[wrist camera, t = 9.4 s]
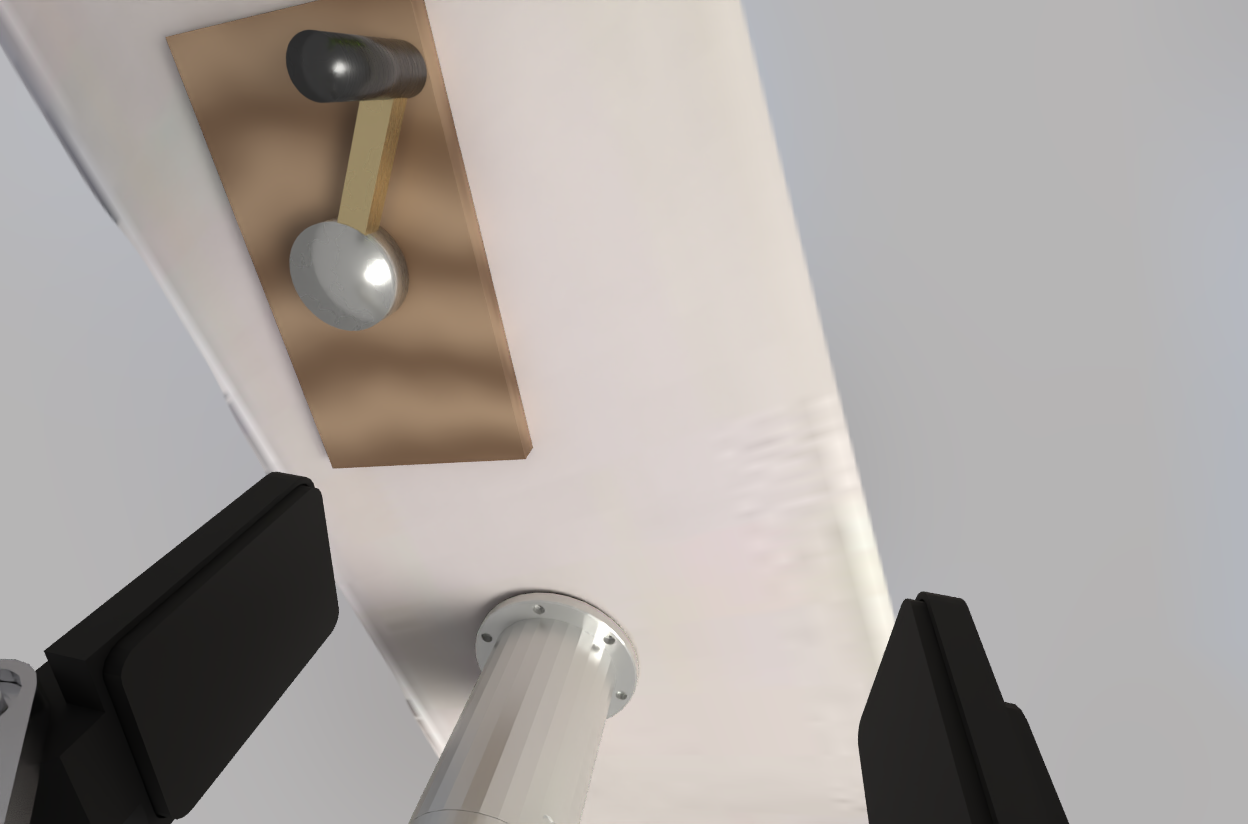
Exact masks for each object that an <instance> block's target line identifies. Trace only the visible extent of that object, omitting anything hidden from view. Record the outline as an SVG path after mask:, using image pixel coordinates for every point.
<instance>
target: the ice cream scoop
mask: <svg viewBox="0 0 1248 824" xmlns="http://www.w3.org/2000/svg"><path fill="white" fill-rule="evenodd" d="M286 66H287V71H288V74H289V77H290V79H291V81H292V83H293V84H294V86H295V87H296V88H297V90H298V91H299V92H300V93H301V94H302V95H303V96H305V97H306V98H308V99H310V100H312V101H314V102H318V103H330V102H350V101H360V103H359V108H358V113H357V119H356V124H355V129H354V135H353V140H352V146H351V151H350V156H349V162H348V167H347V172H346V178H345V183H344V188H343V194H342V199H341V204H340V210H339V215H338V217H336V218H333V219H330V220H327V221H324V222H321V223H318V224H315V225H312V226H310V227H308V228H306V229H305V230H304V231H303V232H301V233H300V235H299V236H298V237H297V238H296V240H295V242H294V244H293V246H292V249H291V253H290V261H289V265H290V274H291V278H292V282H293V285H294V287H295V290H296V292H297V293H298V295H299V297H300V299H301V300H302V302H303V303H304V304H305V306H306V307H307V308H308V309H309V310H310V311H311V312H312V313H313V314H314V315H315V316H316V317H318V318H319V319H320V320H322V321H323V322H325V323H327V324H329V325H331V326H333V327H335V328H338V329H342V330H348V331H359V330H364V329H367V328H370V327H372V326H374V325H375V324H377V323H379V322H380V321H382V320H383V319H385V318H387V317H388V316H390V315H391V314H393V313H394V312H396V311H397V310H398V309H399V308H400V306H401V305H402V304H403V302H404V300H405V298H406V295H407V292H408V287H409V272H408V267H407V263H406V260H405V257H404V255H403V253H402V251H401V249H400V247H399V246H398V244H397V243H396V242H395V240H394V239H393V238H392V237H391V236H390V234H389V233H388V232H386V231H385V230H384V229H383V228H382V227H380V226H379V225H380V221H381V216H382V212H383V207H384V203H385V198H386V194H387V189H388V184H389V180H390V175H391V171H392V166H393V162H394V157H395V152H396V148H397V143H398V139H399V134H400V130H401V125H402V121H403V116H404V111H405V107H406V102H407V99H409V98H413V97H415V96H417V95H418V94H419V93H420V92H421V91H422V89H423V88H424V86H425V83H426V78H427V69H426V64H425V61H424V58H423V56H422V55H421V53H420V52H419V50H418V49H417V48H416V47H415V46H414V45H412V44H411V43H409V42H407V41H404V40H398V39H389V38H380V37H371V36H363V35H354V34H345V33H336V32H327V31H318V30H304V31H301V32H299V33H297V34H296V35H295V36H294V37H293V38H292V39H291V41H290V42H289V44H288V47H287V51H286Z"/></svg>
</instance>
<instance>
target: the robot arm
mask: <svg viewBox="0 0 1248 824" xmlns="http://www.w3.org/2000/svg"><path fill="white" fill-rule="evenodd" d="M338 615H339V607H338V600H337V593H336V587H335V580H334V573H333V566H332V560H331V553H330V546H329V539H328V533H327V526H326V519H325V512H324V506H323V499H322V494H321V492H320V490H319V489H317V488H315V487H314V484H313V482H312V481H311V479H309V478H307V477H302V476H297V475H292V474H286V473H281V472H271V473H270V474H268V475H266V476H265V477H264V478H263V479H261V480H260V481H259V482H257V483H256V484H255V485H254V486H252V487H251V488H250V489H249V490H247V491H246V492H245V493H243V494H242V495H241V496H240V497H239V498H237V499H236V500H235V501H233V502H232V503H231V504H229V505H228V506H227V507H226V508H224V509H223V510H222V511H221V512H220V513H218V514H217V515H216V516H214V517H213V518H212V519H210V520H209V521H208V522H207V523H205V524H204V525H203V526H202V527H200V528H199V529H198V530H197V531H195V532H194V533H193V534H191V535H190V536H189V537H188V538H187V539H185V540H184V541H183V542H181V543H180V544H179V545H177V546H176V547H175V548H174V549H172V550H171V551H170V552H169V553H167V554H166V555H165V556H164V557H162V558H161V559H160V560H158V561H157V562H156V563H155V564H153V565H152V566H151V567H150V568H148V569H147V570H146V571H145V572H143V573H142V574H141V575H140V576H138V577H137V578H136V579H134V580H133V581H132V582H131V583H129V584H128V585H127V586H126V587H124V588H123V589H122V590H120V591H119V592H118V593H117V594H115V595H114V596H113V597H112V598H110V599H109V600H108V601H107V602H105V603H104V604H103V605H101V606H100V607H99V608H98V609H96V610H95V611H94V612H93V613H91V614H90V615H89V616H88V617H86V618H85V619H84V620H83V621H81V622H80V623H79V624H78V625H76V626H75V627H74V628H72V629H71V630H70V631H68V632H67V633H66V634H65V635H63V636H62V637H61V638H60V639H58V640H57V641H56V642H55V643H53V644H52V645H51V646H50V647H48V648H47V649H46V650H45V651H44V652H45V655H46V657H47V659H48V661H47V662H46V663H45V664H43V665H42V666H41V667H40V668H38V669H37V670H36V671H34V669H33V668H32V667H31V666H30V665H29V664H27V663H24V662H21V661H19V660H16V659H0V824H171V823H172V822H173V820H174V819H179V818H182V817H184V816H185V815H187V814H188V813H189V812H190V811H191V810H192V808H194V806H195V805H196V804H197V802H198V801H199V800H200V799H201V797H202V796H203V795H204V793H205V792H206V791H207V790H208V789H209V787H210V786H211V785H212V783H213V782H214V781H215V779H216V778H217V777H218V776H219V775H220V773H221V772H222V771H223V770H224V768H225V767H226V766H227V764H228V763H229V762H230V761H231V759H232V758H233V756H235V754H236V753H237V752H238V750H239V749H240V748H241V746H242V745H243V744H244V743H245V742H246V740H247V739H248V738H249V737H250V735H251V734H252V733H253V731H254V730H255V729H256V728H257V726H258V725H259V724H260V722H261V721H262V720H263V719H264V718H265V716H266V715H267V714H268V712H269V711H270V710H271V709H272V707H273V706H274V705H275V704H276V702H277V701H278V700H279V698H280V697H281V696H282V694H283V693H284V692H285V691H286V690H287V688H288V687H289V686H290V685H291V683H292V682H293V681H294V679H295V678H296V677H297V676H298V674H299V673H300V672H301V671H302V669H303V668H304V667H305V666H306V664H307V663H308V662H309V660H310V659H311V658H312V657H313V655H314V654H315V653H316V651H317V650H318V649H319V648H320V646H321V645H322V644H323V643H324V641H325V640H326V639H327V637H328V636H329V635H330V634H331V632H332V631H333V629H334V627H335V625H336V623H337V620H338ZM475 652H476V659H477V662H478V665H479V668H480V670H481V674H480V676H479V678H478V680H477V682H476V685H475V687H474V689H473V691H472V693H471V695H470V697H469V699H468V701H467V703H466V705H465V707H464V709H463V711H462V713H461V715H460V718H459V720H458V722H457V724H456V726H455V728H454V730H453V732H452V734H451V736H450V738H449V740H448V742H447V744H446V746H445V749H444V751H443V753H442V755H441V757H440V759H439V761H438V763H437V765H436V767H435V769H434V771H433V773H432V776H431V777H430V779H429V782H428V784H427V786H426V788H425V790H424V792H423V794H422V796H421V798H420V800H419V802H418V804H417V807H416V809H415V811H414V813H413V815H412V817H411V819H410V822H409V824H580V820H581V816H582V812H583V808H584V805H585V801H586V797H587V793H588V789H589V785H590V781H591V777H592V773H593V769H594V765H595V761H596V757H597V753H598V749H599V745H600V741H601V737H602V733H603V729H604V725H605V721H606V719H608V718H610V717H613V716H614V715H615V714H617V713H618V712H620V711H621V710H623V708H624V707H625V706H626V705H627V704H628V703H629V702H630V700H631V698H632V696H633V694H634V692H635V688H636V684H637V680H638V669H639V665H638V660H637V655H636V652H635V650H634V647H633V645H632V643H631V641H630V640H629V638H628V637H627V635H626V634H625V633H624V631H623V630H622V629H621V628H620V627H619V626H618V625H617V624H616V623H615V622H614V621H613V620H612V619H611V618H610V617H608V616H607V615H605V614H604V613H603V612H601V611H600V610H599V609H597V608H595V607H593V606H591V605H589V604H587V603H585V602H583V601H580V600H577V599H574V598H571V597H568V596H563V595H558V594H553V593H529V594H521V595H518V596H515V597H512V598H509V599H507V600H505V601H503V602H501V603H500V604H498V605H497V606H495V607H494V608H493V609H492V610H491V611H490V612H489V613H488V615H487V616H486V618H485V619H484V621H483V623H482V625H481V627H480V629H479V631H478V633H477V636H476V643H475ZM858 747H859V754H860V762H861V769H862V776H863V783H864V791H865V798H866V805H867V813H868V820H869V824H1069V822H1068V820H1067V817H1066V815H1065V812H1064V810H1063V807H1062V805H1061V803H1060V800H1059V798H1058V795H1057V793H1056V790H1055V788H1054V785H1053V783H1052V780H1051V778H1050V775H1049V773H1048V771H1047V768H1046V766H1045V763H1044V761H1043V758H1042V756H1041V754H1040V751H1039V748H1038V746H1037V744H1036V741H1035V739H1034V736H1033V734H1032V731H1031V729H1030V726H1029V724H1028V722H1027V719H1026V718H1025V716H1024V714H1023V712H1022V710H1021V709H1020V708H1018V707H1017V706H1016V705H1015V704H1012V703H1007V702H1004V700H1003V698H1002V695H1001V692H1000V690H999V687H998V685H997V682H996V679H995V677H994V674H993V672H992V669H991V666H990V664H989V661H988V658H987V656H986V653H985V651H984V648H983V645H982V643H981V640H980V637H979V635H978V632H977V630H976V627H975V624H974V622H973V619H972V616H971V614H970V611H969V609H968V606H967V604H966V603H965V601H964V600H963V599H961V598H956V597H950V596H945V595H940V594H934V593H929V592H920V593H919V594H918V595H917V597H916V599H915V600H912V599H905V600H904V601H903V603H902V605H901V608H900V610H899V613H898V616H897V619H896V622H895V624H894V627H893V630H892V633H891V636H890V638H889V641H888V644H887V647H886V650H885V652H884V655H883V658H882V661H881V664H880V666H879V669H878V672H877V675H876V678H875V680H874V683H873V686H872V689H871V692H870V694H869V697H868V700H867V703H866V706H865V708H864V711H863V714H862V717H861V720H860V724H859V731H858Z"/></svg>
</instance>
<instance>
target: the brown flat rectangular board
mask: <svg viewBox="0 0 1248 824" xmlns="http://www.w3.org/2000/svg"><path fill="white" fill-rule="evenodd" d="M304 30H318V31H327V32H336V33H345V34H354V35H363V36H371V37H380V38H389V39H398V40H404V41H407V42H409V43H411V44H412V45H414V46H415V47H416V48H417V49H418V50H419V52H420V53H421V55H422V56H423V58H424V61H425V64H426V69H427V78H426V83H425V86H424V88H423V89H422V91H421V92H420V93H419V94H418V95H417V96H415V97H413V98H409V99H407V102H406V107H405V111H404V116H403V121H402V125H401V130H400V134H399V139H398V143H397V148H396V152H395V157H394V162H393V166H392V171H391V175H390V180H389V184H388V189H387V194H386V198H385V203H384V207H383V212H382V216H381V221H380V225H379V226H380V227H382V228H383V229H384V230H385V231H386V232H388V233H389V234H390V236H391V237H392V238H393V239H394V240H395V242H396V243H397V244H398V246H399V247H400V249H401V251H402V253H403V255H404V257H405V260H406V263H407V267H408V272H409V287H408V292H407V295H406V298H405V300H404V302H403V304H402V305H401V306H400V308H399V309H398V310H397V311H396V312H394V313H393V314H391V315H390V316H388V317H387V318H385V319H383V320H382V321H380V322H379V323H377V324H375V325H374V326H372V327H370V328H367V329H364V330H359V331H348V330H342V329H338V328H335V327H333V326H331V325H329V324H327V323H325V322H323V321H322V320H320V319H319V318H318V317H316V316H315V315H314V314H313V313H312V312H311V311H310V310H309V309H308V308H307V307H306V306H305V304H304V303H303V302H302V300H301V299H300V297H299V295H298V293H297V292H296V290H295V287H294V285H293V282H292V278H291V274H290V265H289V261H290V253H291V249H292V246H293V244H294V242H295V240H296V238H297V237H298V236H299V235H300V233H301V232H303V231H304V230H305V229H306V228H308V227H310V226H312V225H315V224H318V223H321V222H324V221H327V220H330V219H333V218H336V217H338V215H339V210H340V204H341V199H342V194H343V188H344V183H345V178H346V172H347V167H348V162H349V156H350V151H351V146H352V140H353V135H354V129H355V124H356V119H357V113H358V108H359V103H360V101H350V102H330V103H318V102H314V101H312V100H310V99H308V98H306V97H305V96H303V95H302V94H301V93H300V92H299V91H298V90H297V88H296V87H295V86H294V84H293V83H292V81H291V79H290V77H289V74H288V71H287V66H286V51H287V47H288V44H289V42H290V41H291V39H292V38H293V37H294V36H295V35H296V34H297V33H299V32H301V31H304ZM166 40H167V42H168V45H169V47H170V50H171V53H172V55H173V58H174V60H175V63H176V65H177V68H178V71H179V73H180V76H181V78H182V81H183V83H184V86H185V89H186V91H187V94H188V96H189V99H190V102H191V104H192V107H193V109H194V112H195V114H196V117H197V120H198V122H199V125H200V127H201V130H202V132H203V135H204V138H205V140H206V143H207V145H208V148H209V150H210V153H211V156H212V158H213V161H214V163H215V166H216V168H217V171H218V174H219V176H220V179H221V181H222V184H223V187H224V189H225V192H226V194H227V197H228V199H229V202H230V205H231V207H232V210H233V212H234V215H235V217H236V220H237V223H238V225H239V228H240V230H241V233H242V235H243V238H244V241H245V243H246V246H247V248H248V251H249V254H250V256H251V259H252V261H253V264H254V266H255V269H256V272H257V274H258V277H259V279H260V282H261V284H262V287H263V290H264V292H265V295H266V297H267V300H268V302H269V305H270V308H271V310H272V313H273V315H274V318H275V320H276V323H277V326H278V328H279V331H280V333H281V336H282V339H283V341H284V344H285V346H286V349H287V351H288V354H289V357H290V359H291V362H292V364H293V367H294V369H295V372H296V375H297V377H298V380H299V382H300V385H301V387H302V390H303V393H304V395H305V398H306V400H307V403H308V405H309V408H310V411H311V413H312V416H313V418H314V421H315V424H316V426H317V429H318V431H319V434H320V436H321V439H322V442H323V444H324V447H325V449H326V452H327V454H328V457H329V460H330V462H331V465H332V467H333V468H352V467H373V466H394V465H414V464H435V463H455V462H476V461H496V460H517V459H526V458H527V456H528V454H529V453H530V451H531V450H532V448H533V446H532V442H531V438H530V434H529V430H528V426H527V422H526V417H525V413H524V409H523V405H522V401H521V397H520V393H519V389H518V385H517V380H516V376H515V372H514V368H513V364H512V360H511V356H510V352H509V348H508V343H507V339H506V335H505V331H504V327H503V323H502V319H501V315H500V311H499V306H498V302H497V298H496V294H495V290H494V286H493V282H492V278H491V274H490V269H489V265H488V261H487V257H486V253H485V249H484V245H483V241H482V237H481V232H480V228H479V224H478V220H477V216H476V212H475V208H474V204H473V200H472V196H471V191H470V187H469V183H468V179H467V175H466V171H465V167H464V163H463V159H462V154H461V150H460V146H459V142H458V138H457V134H456V130H455V126H454V122H453V117H452V113H451V109H450V105H449V101H448V97H447V93H446V89H445V85H444V80H443V76H442V72H441V68H440V64H439V60H438V56H437V52H436V48H435V43H434V39H433V35H432V31H431V27H430V23H429V19H428V15H427V11H426V6H425V2H424V0H318V1H314V2H310V3H305V4H301V5H297V6H293V7H289V8H285V9H280V10H276V11H272V12H268V13H264V14H260V15H256V16H251V17H247V18H243V19H239V20H235V21H231V22H226V23H222V24H218V25H214V26H210V27H206V28H201V29H197V30H193V31H189V32H185V33H181V34H176V35H172V36H168V37H166Z"/></svg>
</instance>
